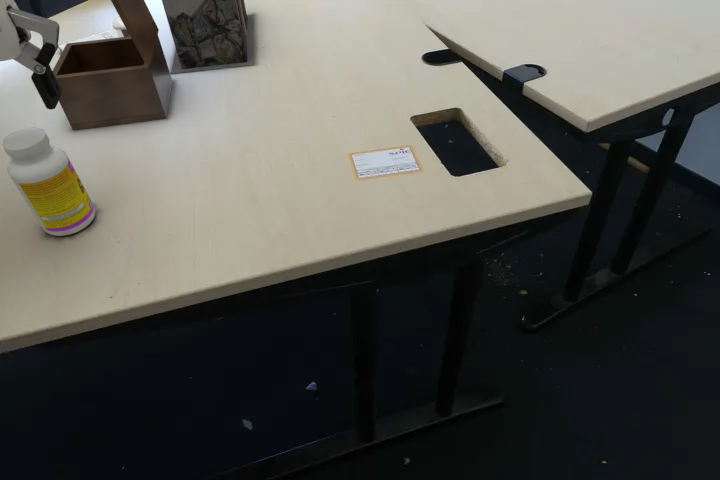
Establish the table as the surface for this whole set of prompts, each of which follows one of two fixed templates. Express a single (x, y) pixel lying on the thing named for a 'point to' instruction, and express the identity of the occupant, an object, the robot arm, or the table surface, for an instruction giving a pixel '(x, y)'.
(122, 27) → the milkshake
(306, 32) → the table surface
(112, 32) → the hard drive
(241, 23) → the bookend
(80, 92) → the chest
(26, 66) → the robot arm
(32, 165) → the supplement bottle
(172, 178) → the table surface
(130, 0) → the lid
